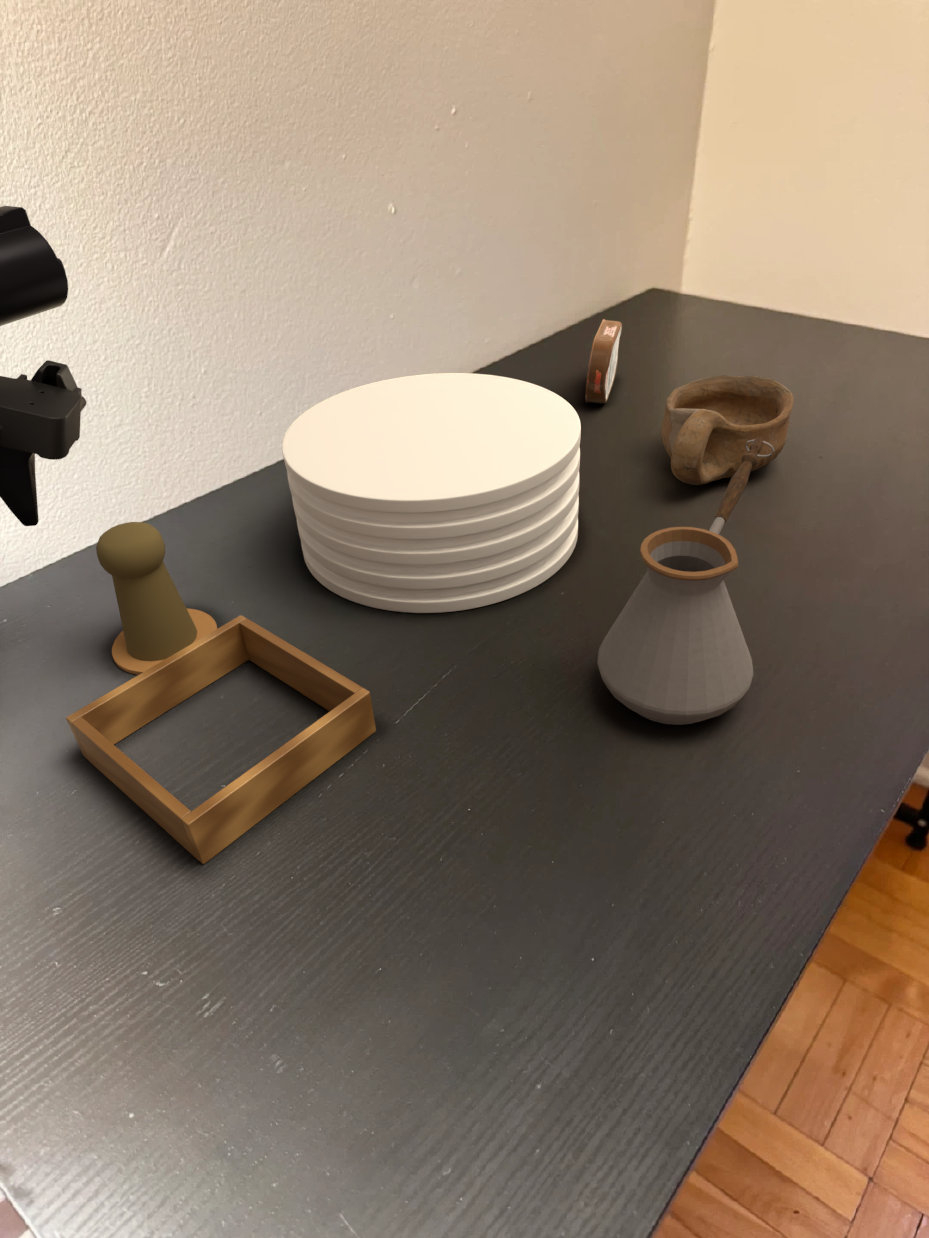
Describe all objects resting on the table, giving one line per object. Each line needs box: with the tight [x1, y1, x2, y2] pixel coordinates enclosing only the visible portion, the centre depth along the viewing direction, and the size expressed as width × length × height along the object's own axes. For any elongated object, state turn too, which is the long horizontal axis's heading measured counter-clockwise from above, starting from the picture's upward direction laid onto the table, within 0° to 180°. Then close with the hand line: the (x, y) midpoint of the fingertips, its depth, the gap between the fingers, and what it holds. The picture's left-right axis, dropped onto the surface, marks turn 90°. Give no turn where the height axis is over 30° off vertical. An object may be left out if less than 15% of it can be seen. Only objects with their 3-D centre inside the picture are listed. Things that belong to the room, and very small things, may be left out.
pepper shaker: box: [95, 521, 197, 661], centre depth 70 cm, size 6×6×11 cm
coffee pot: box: [596, 437, 774, 726], centre depth 64 cm, size 21×12×15 cm, turn 147°
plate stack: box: [281, 372, 582, 614], centre depth 83 cm, size 28×28×12 cm
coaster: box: [111, 607, 219, 676], centre depth 74 cm, size 9×9×1 cm
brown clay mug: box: [660, 374, 795, 486], centre depth 91 cm, size 18×14×10 cm
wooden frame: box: [65, 614, 377, 865], centre depth 62 cm, size 16×16×4 cm
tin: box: [584, 318, 623, 404], centre depth 111 cm, size 15×3×8 cm, turn 165°
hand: (10, 555), depth 64 cm, fingers open, 9 cm apart
